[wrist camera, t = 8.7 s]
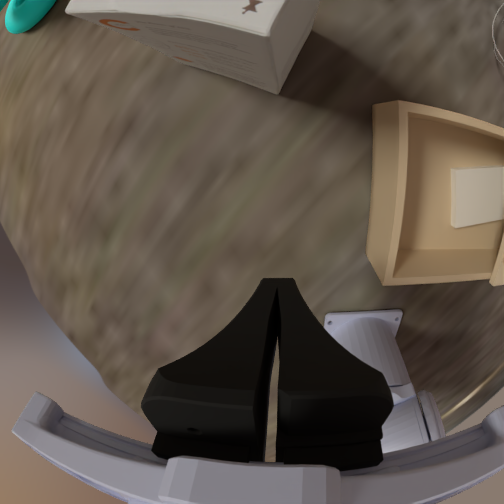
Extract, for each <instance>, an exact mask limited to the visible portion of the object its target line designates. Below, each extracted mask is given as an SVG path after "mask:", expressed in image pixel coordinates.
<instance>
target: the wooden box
mask: <svg viewBox="0 0 504 504" xmlns="http://www.w3.org/2000/svg"><path fill="white" fill-rule="evenodd" d="M372 128H373V154H372V184H371V200H370V213H369V224H368V234H367V243H366V251H365V254H366V256H367V257H368V259H369V261H370V263H371V265H372V266H373V268H374V270H375V272H376V274H377V276H378V278H379V279H380V281H381V283H382V285H383V286H392V285H412V284H429V283H444V282H458V281H470V280H482V279H490V278H491V275H492V272H493V269H494V266H495V263H496V260H497V256H498V253H499V249H500V245H501V242H502V238H503V233H504V219H501V220H496V221H491V222H486V223H481V224H476V225H470V226H465V227H460V228H454V227H453V226H451V168H458V167H473V166H493V165H503V166H504V129H503V128H501V127H498V126H496V125H493V124H490V123H487V122H484V121H481V120H478V119H475V118H472V117H469V116H466V115H462V114H459V113H455V112H451V111H448V110H444V109H440V108H436V107H431V106H427V105H422V104H417V103H412V102H406V101H401V100H396V101H390V102H385V103H379V104H374V105H372Z"/></svg>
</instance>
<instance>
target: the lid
mask: <svg viewBox="0 0 504 504" xmlns="http://www.w3.org/2000/svg"><path fill="white" fill-rule="evenodd" d="M489 283H490V284H491V285H492V286H497V285H504V233H503V238H502V242H501V245H500V249H499V253H498V256H497V260H496V263H495V266H494V269H493V272H492V275H491V278H490V281H489Z"/></svg>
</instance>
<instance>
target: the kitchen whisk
mask: <svg viewBox="0 0 504 504" xmlns="http://www.w3.org/2000/svg"><path fill="white" fill-rule="evenodd" d="M503 5H504V3H503V4H502V6H501V7H500V8H499V10H498V11H497V13H496V15H495V17H494V21H493V25H492V37H493V26H494V23H495V19H496V16H497V14H498V12H499V11H500V9H501V8H502V7H503ZM503 21H504V19H503ZM503 21H502V23H503ZM493 41H494V52H495V48H496V50H497V51H498V49H497V47H496V41H495V40H494V37H493ZM498 53H499V51H498ZM495 55H496V52H495ZM499 55H500V57H501V58H502V56H501V54H500V53H499ZM496 58H497V55H496ZM497 60H498V58H497ZM502 60H503V58H502ZM498 61H499V60H498ZM503 61H504V60H503ZM499 62H500V61H499ZM500 63H501V62H500ZM501 64H502V63H501ZM502 65H503V64H502ZM503 67H504V65H503Z"/></svg>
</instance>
